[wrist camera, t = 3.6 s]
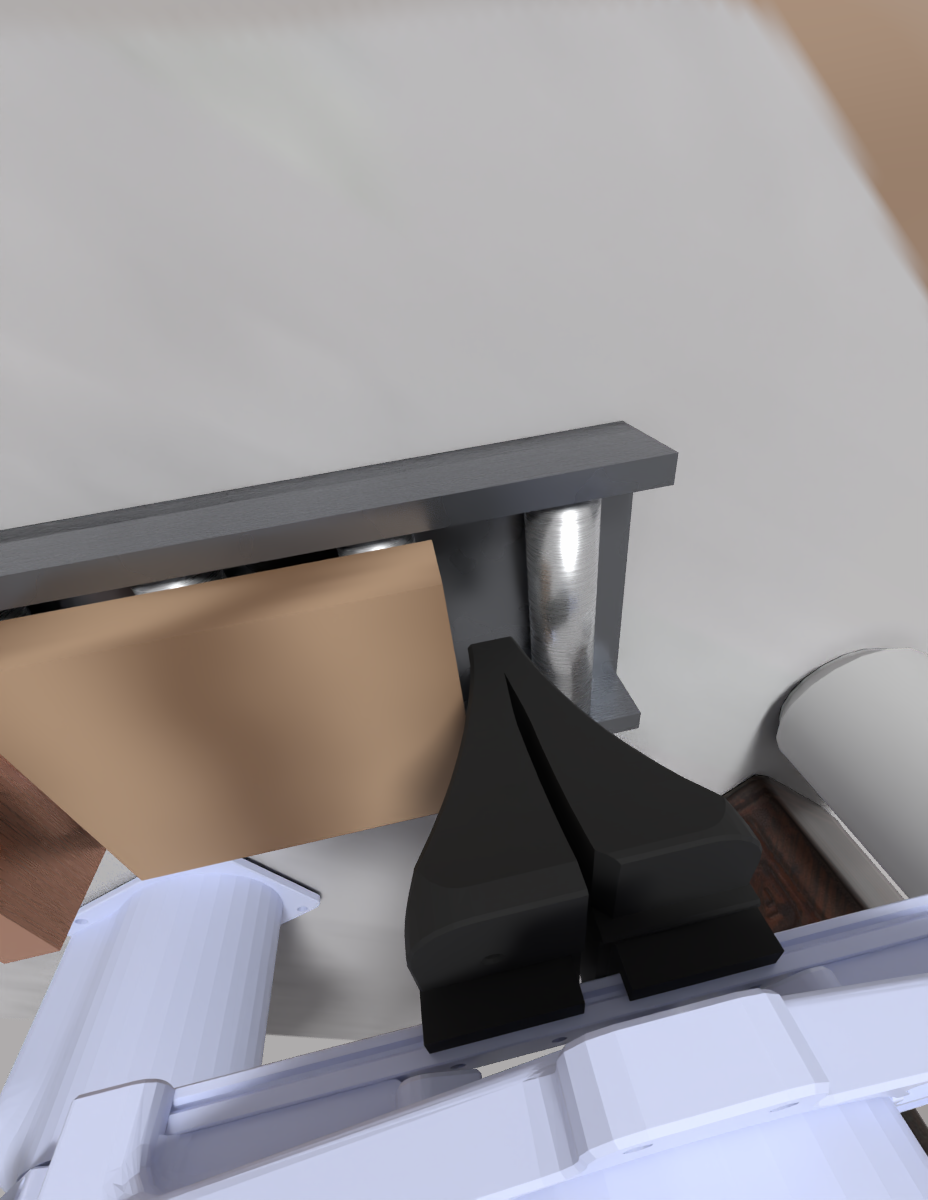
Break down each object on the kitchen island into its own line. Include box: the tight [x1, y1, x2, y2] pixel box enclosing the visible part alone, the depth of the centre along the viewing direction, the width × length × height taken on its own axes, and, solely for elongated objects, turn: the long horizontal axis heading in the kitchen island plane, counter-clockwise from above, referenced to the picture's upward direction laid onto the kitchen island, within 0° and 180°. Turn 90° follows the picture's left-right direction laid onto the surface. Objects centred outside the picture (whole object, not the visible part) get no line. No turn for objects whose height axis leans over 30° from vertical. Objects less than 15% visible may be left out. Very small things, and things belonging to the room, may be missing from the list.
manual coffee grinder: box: [723, 775, 928, 1156], centre depth 24 cm, size 16×11×18 cm
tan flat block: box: [0, 540, 466, 881], centre depth 12 cm, size 10×8×2 cm
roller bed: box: [0, 421, 678, 964], centre depth 13 cm, size 20×10×6 cm, turn 97°
